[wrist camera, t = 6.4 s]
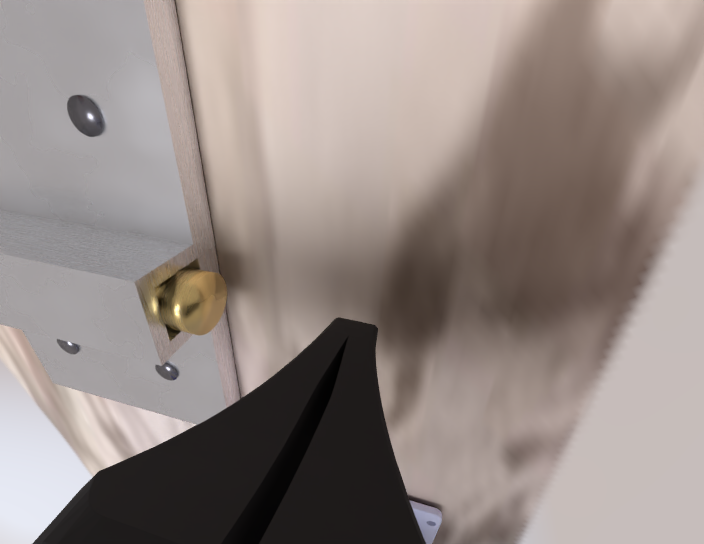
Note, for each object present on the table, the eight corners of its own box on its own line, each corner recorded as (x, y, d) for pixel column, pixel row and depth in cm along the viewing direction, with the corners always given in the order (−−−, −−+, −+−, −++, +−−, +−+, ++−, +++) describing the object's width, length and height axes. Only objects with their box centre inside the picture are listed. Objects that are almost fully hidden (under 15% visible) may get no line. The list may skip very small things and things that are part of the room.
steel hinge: (167, -39, 9) (6, -111, 6) (243, 415, 19) (200, 485, 16) (-145, -43, 11) (-396, -98, 8) (72, 368, 21) (2, 421, 18)
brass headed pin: (222, 261, 12) (180, 294, 10) (230, 310, 13) (194, 348, 11) (-43, 211, 14) (-118, 231, 13) (-16, 257, 16) (-82, 281, 14)
